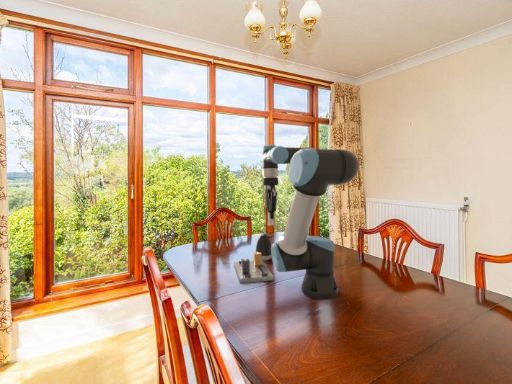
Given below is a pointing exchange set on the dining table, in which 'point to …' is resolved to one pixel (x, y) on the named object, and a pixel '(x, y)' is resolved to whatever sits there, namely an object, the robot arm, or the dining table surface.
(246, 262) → the fader graphite
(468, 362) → the dining table surface
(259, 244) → the pump dispenser
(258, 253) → the fader orange
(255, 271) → the console
